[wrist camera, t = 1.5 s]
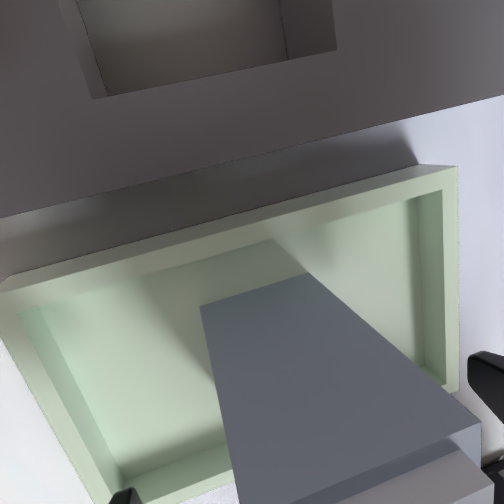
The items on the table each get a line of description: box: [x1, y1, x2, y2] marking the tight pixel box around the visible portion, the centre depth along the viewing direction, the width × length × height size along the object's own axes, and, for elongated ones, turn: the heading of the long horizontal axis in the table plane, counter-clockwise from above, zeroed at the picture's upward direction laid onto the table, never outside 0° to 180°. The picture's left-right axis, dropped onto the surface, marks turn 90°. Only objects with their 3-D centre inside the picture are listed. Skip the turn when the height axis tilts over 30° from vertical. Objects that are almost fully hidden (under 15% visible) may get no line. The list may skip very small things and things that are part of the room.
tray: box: [0, 164, 459, 504], centre depth 12 cm, size 9×14×2 cm, turn 103°
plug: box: [199, 272, 494, 504], centre depth 9 cm, size 4×4×8 cm
